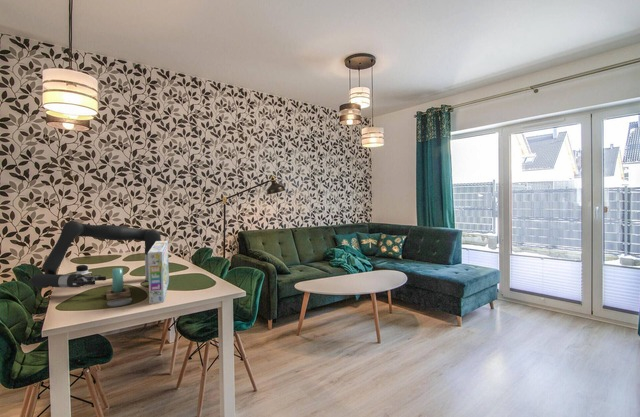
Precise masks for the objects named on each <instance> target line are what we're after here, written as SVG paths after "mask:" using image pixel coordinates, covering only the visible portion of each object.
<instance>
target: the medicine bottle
mask: <svg viewBox="0 0 640 417" xmlns="http://www.w3.org/2000/svg"><path fill="white" fill-rule="evenodd" d="M75 270H76V272H75V273H74V274H82V275H83V276H84V277H85V276H90V275H93V272H92V271H89V265H88V264H79V265H77V266H76V267H75Z"/></svg>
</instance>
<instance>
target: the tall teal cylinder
mask: <svg viewBox="0 0 640 417" xmlns="http://www.w3.org/2000/svg"><path fill="white" fill-rule="evenodd" d="M111 274H112V275H111V276H112V279H111V280H112V289H113V293H120V292H123V288H124V268H122V267H115V268H112V270H111Z"/></svg>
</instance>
